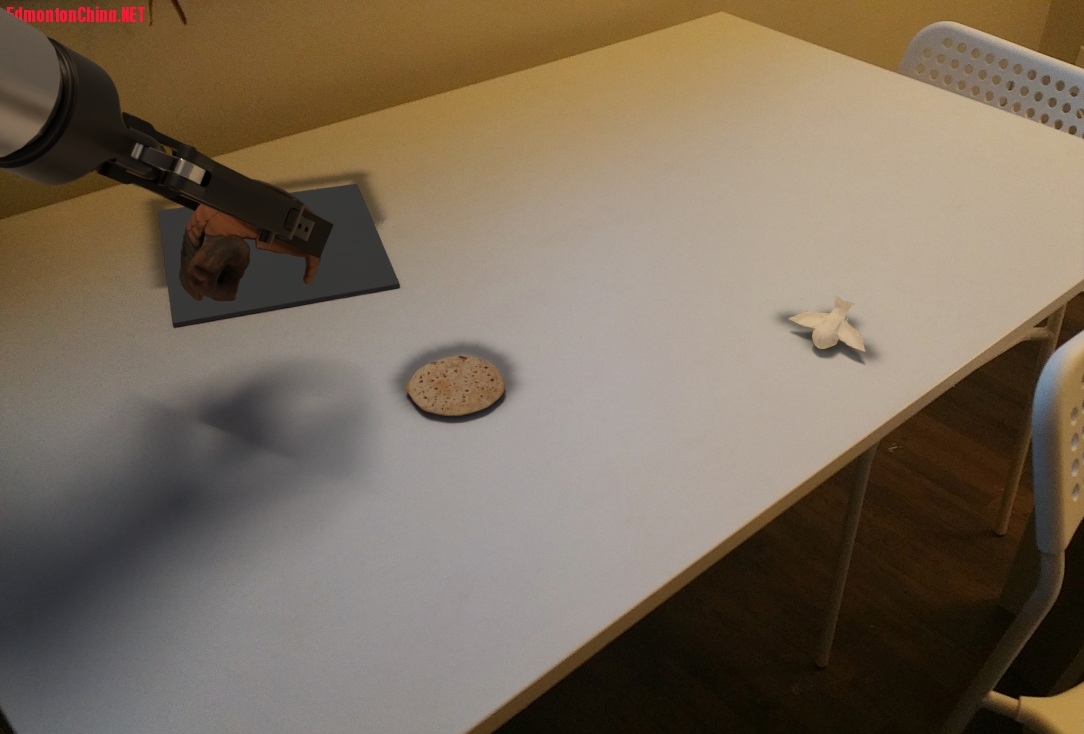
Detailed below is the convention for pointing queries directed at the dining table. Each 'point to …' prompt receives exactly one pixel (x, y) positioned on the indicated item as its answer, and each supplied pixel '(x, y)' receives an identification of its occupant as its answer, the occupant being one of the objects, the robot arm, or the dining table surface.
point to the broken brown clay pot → (226, 252)
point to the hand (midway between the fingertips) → (271, 221)
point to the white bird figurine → (831, 326)
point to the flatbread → (456, 386)
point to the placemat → (289, 262)
